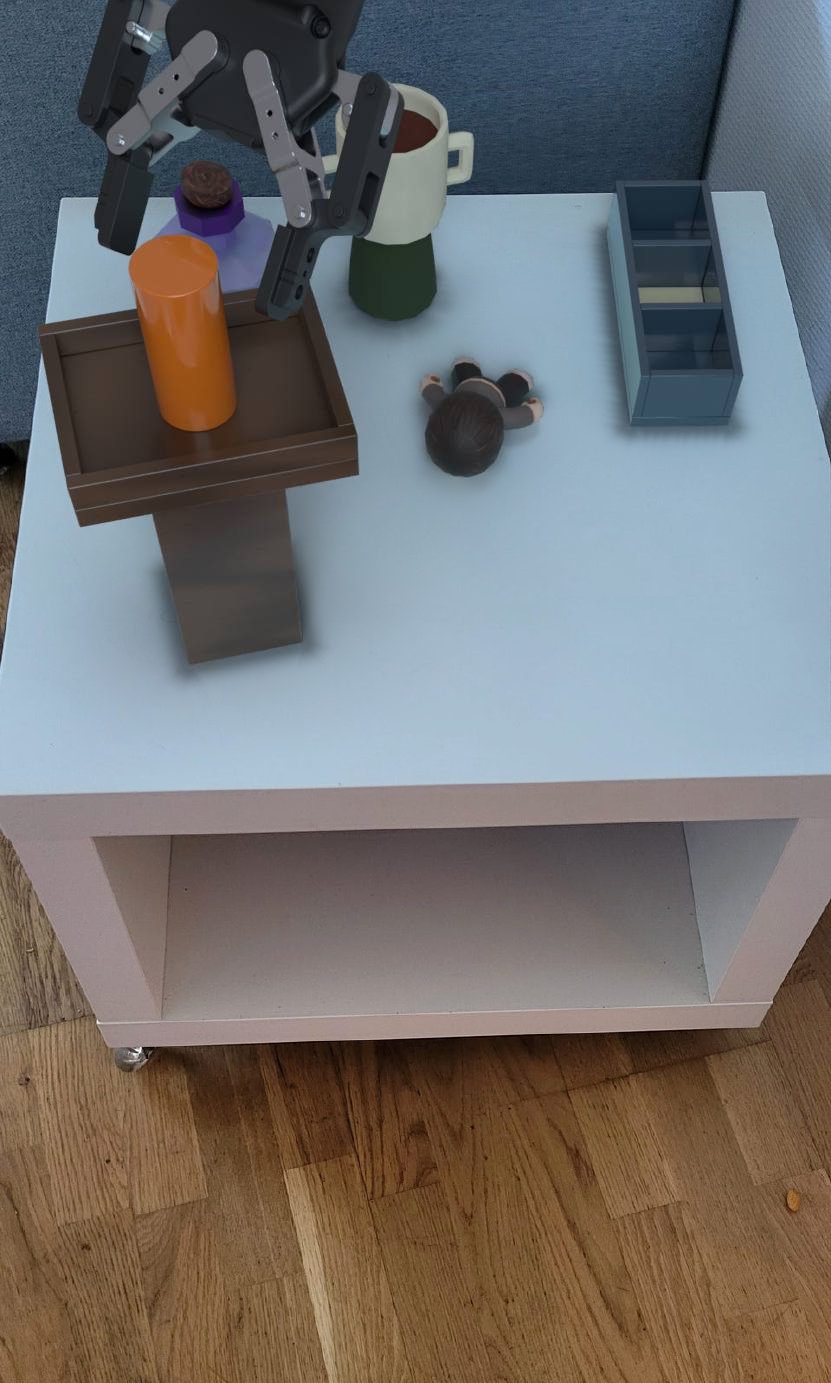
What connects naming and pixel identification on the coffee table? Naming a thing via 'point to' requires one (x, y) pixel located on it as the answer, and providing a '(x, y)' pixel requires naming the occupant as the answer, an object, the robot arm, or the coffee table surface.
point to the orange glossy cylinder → (184, 331)
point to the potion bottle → (221, 224)
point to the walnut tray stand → (206, 462)
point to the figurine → (475, 416)
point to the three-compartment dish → (672, 304)
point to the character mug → (406, 210)
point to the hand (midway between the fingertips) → (191, 283)
